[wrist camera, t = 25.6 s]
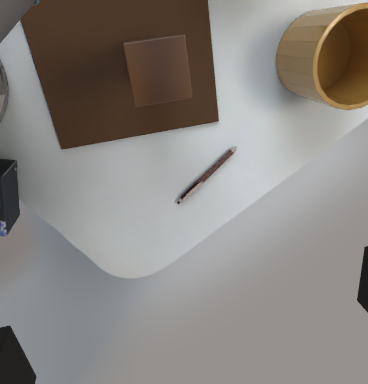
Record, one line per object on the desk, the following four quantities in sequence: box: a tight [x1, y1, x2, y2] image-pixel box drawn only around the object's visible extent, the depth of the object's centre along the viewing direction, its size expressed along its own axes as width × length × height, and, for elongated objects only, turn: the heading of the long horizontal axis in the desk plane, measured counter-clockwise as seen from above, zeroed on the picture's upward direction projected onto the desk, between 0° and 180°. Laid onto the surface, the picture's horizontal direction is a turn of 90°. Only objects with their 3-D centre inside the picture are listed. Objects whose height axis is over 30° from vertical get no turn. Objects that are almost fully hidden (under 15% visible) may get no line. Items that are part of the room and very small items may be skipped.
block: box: [123, 34, 192, 107], centre depth 30 cm, size 4×4×18 cm
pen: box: [177, 147, 236, 204], centre depth 45 cm, size 11×1×1 cm, turn 134°
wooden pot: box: [276, 3, 368, 110], centre depth 37 cm, size 10×10×9 cm
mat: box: [21, 0, 219, 149], centre depth 38 cm, size 20×16×1 cm
